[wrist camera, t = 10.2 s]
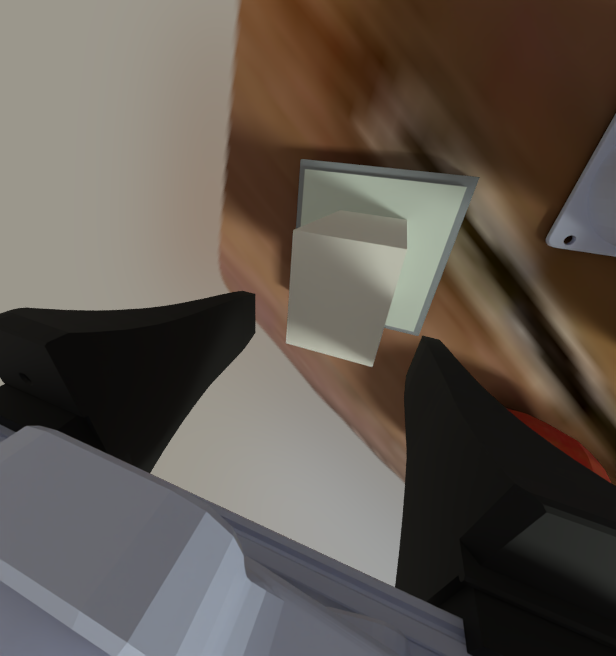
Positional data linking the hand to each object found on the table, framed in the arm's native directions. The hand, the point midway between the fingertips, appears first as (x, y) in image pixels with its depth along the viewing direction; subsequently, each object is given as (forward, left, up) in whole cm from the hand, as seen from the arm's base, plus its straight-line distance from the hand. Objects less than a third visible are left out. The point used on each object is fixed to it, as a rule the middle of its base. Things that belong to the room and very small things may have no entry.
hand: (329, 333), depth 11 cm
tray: (0, -1, -10) cm, 10 cm away
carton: (0, -1, -8) cm, 8 cm away
